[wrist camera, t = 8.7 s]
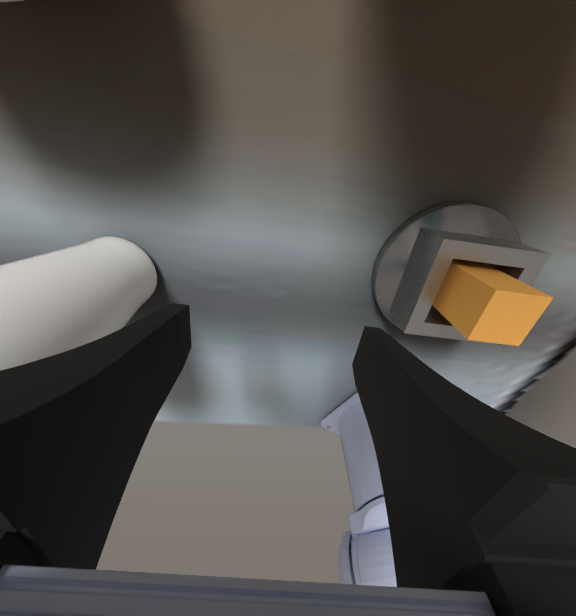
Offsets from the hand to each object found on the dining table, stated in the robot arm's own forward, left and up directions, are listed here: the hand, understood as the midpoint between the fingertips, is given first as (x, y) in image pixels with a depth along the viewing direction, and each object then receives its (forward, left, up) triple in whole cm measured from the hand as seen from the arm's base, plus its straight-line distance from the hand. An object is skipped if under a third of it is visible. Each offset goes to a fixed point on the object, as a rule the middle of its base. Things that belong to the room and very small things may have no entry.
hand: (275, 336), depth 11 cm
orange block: (-10, -7, -9) cm, 15 cm away
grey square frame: (-10, -7, -10) cm, 15 cm away
